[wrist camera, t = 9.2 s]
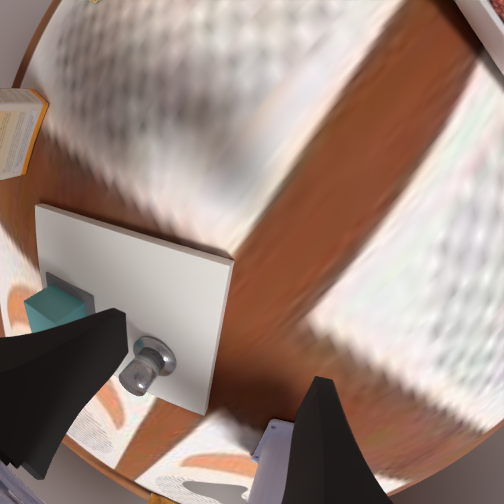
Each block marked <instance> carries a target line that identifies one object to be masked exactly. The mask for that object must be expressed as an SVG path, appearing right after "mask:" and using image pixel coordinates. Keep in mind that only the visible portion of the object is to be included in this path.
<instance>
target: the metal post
mask: <svg viewBox="0 0 504 504" xmlns="http://www.w3.org/2000/svg"><path fill="white" fill-rule="evenodd" d="M133 352H134V355H135V357H134V358H133V359H132V361H131V362H130V363H129V364H128V365H127V366H126V367H125V368H124V370H123V371H122V372H121V373H120V374H119V381H120V383H121V384H122V386H123V387H124V388H125V389H126V390H127V391H129V392H130V393H132V394H134V395H136V396H143V395H144V394H145V393H146V391H147V390H148V389H149V387H150V386H151V385H152V383H153V382H154V381H155V379H156V378H157V377H158V376H169V375H170V374H172V372H173V371H174V369H175V368H176V358H175V356H174V354H173V352H172V351H171V349H170V348H169V347H168V346H167V345H166V344H165V343H164V342H162V341H161V340H159V339H157V338H155V337H152V336H142V337H140V338H139V339H138V340H137V341H136V342H135V343H134V345H133Z"/></svg>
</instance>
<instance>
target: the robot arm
mask: <svg viewBox="0 0 504 504" xmlns="http://www.w3.org/2000/svg"><path fill="white" fill-rule="evenodd" d="M128 352H129V350H128V339H127V325H126V313H125V312H123V311H120V310H118V309H116V308H110V309H107V310H104V311H101V312H98V313H95V314H92V315H89V316H86V317H84V318H81V319H78V320H75V321H72V322H69V323H66V324H63V325H60V326H56V327H53V328H50V329H46V330H43V331H39V332H35V333H30V334H25V335H20V336H13V337H2V338H0V504H23V503H24V504H46V503H45V502H44V501H43V500H42V499H41V498H39V497H38V496H37V495H36V494H35V493H33V492H32V491H31V490H30V489H29V488H28V487H27V486H26V485H25V484H24V483H23V482H22V481H20V479H18V478H17V477H16V476H15V475H14V474H13V473H12V472H11V471H10V470H9V468H8V467H7V465H8V464H9V463H11V464H12V465H13V466H14V467H15V468H16V469H17V468H19V466H20V465H21V466H22V467H23V468H24V469H25V470H27V471H28V472H29V473H30V474H31V475H32V476H33V477H34V478H35V479H38V480H43V479H44V478H45V475H46V473H47V470H48V468H49V465H50V463H51V461H52V458H53V456H54V455H55V453H56V451H57V449H58V447H59V445H60V443H61V441H62V439H63V438H64V436H65V434H66V433H67V431H68V429H69V428H70V426H71V425H72V423H73V422H74V420H75V419H76V417H77V416H78V414H79V413H80V411H81V410H82V409H83V408H84V406H85V405H86V404H87V403H88V402H89V401H90V400H91V398H92V397H93V396H94V395H95V394H96V393H97V392H98V391H99V390H100V388H101V387H102V386H103V385H104V384H105V383H106V382H107V381H108V380H109V378H110V377H111V376H112V375H113V374H114V373H115V372H116V370H117V369H118V367H119V366H120V365H121V363H122V362H123V360H124V358H125V357H126V355H127V354H128ZM251 460H252V461H253V462H256V463H259V464H258V467H257V471H256V474H255V478H254V481H253V484H252V488H251V491H250V494H249V498H248V501H247V504H393V503H392V501H391V500H390V499H389V497H388V496H387V495H386V493H385V492H384V491H383V489H382V488H381V486H380V485H379V483H378V482H377V480H376V478H375V477H374V475H373V473H372V472H371V470H370V468H369V467H368V465H367V463H366V461H365V459H364V457H363V455H362V453H361V451H360V449H359V447H358V445H357V443H356V440H355V438H354V436H353V434H352V431H351V429H350V426H349V424H348V421H347V419H346V416H345V413H344V411H343V408H342V405H341V402H340V399H339V397H338V394H337V391H336V387H335V384H334V382H333V380H332V379H327V378H322V377H318V376H315V378H314V380H313V382H312V384H311V386H310V388H309V390H308V392H307V394H306V396H305V398H304V400H303V401H302V403H301V405H300V407H299V409H298V411H297V415H296V419H295V423H290V422H286V421H282V420H278V419H272V420H270V422H269V424H268V426H267V428H266V430H265V432H264V434H263V436H262V438H261V440H260V442H259V444H258V446H257V448H256V450H255V452H254V454H253V456H252V458H251ZM8 489H9V490H10V491H11V492H12V493H13V494H14V495H15V496H16V497H17V498H18V499H19V500H20V501H22V502H23V503H21V502H20V501H19V500H17V499H16V498H15V497H14V496H12V495H11V494H10V493H9V492H8Z"/></svg>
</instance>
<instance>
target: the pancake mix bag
mask: <svg viewBox="0 0 504 504" xmlns="http://www.w3.org/2000/svg"><path fill="white" fill-rule="evenodd" d="M148 504H179V503H177V502H175V501H173V500H170V499H168V498H166V497H164V496H160V495H156V494H154V493H151V496H150V500H149V502H148Z"/></svg>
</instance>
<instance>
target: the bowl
mask: <svg viewBox="0 0 504 504" xmlns="http://www.w3.org/2000/svg"><path fill="white" fill-rule="evenodd" d="M454 1H455V3H456V4H457V6H458V7H459V9H460V10H461V12H462V13H463V15H464V17H465V18H466V20H467V21H468V23H469V24H470V26H471V27H472V29H473V30H474V32H475V33H476V35H477V36H478V38H479V39H480V41H481V42H482V44H483V45H484V47H485V49H486V50H487V51H488V53H489V54H490V56H491V58H492V59H493V61H494V62H495V64H496V65H497V67H498V68H499V70H500V71H501V73H502V74H503V76H504V0H454Z"/></svg>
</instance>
